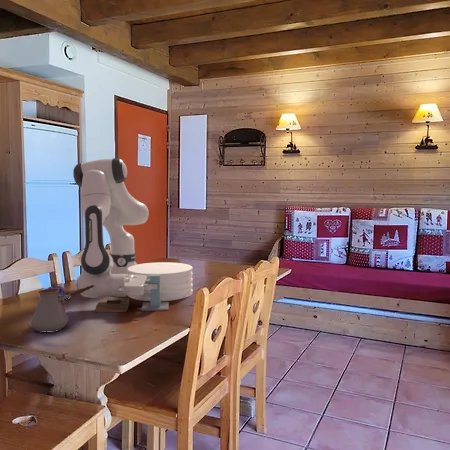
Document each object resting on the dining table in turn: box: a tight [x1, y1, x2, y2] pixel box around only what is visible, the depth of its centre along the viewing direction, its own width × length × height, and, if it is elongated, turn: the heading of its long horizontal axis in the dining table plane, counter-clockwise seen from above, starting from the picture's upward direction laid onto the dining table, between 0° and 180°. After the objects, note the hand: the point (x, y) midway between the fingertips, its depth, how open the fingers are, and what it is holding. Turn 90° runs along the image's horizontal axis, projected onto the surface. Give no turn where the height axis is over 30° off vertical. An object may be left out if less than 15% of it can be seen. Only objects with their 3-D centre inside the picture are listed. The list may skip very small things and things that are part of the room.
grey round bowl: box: [47, 285, 72, 301], centre depth 190 cm, size 12×12×5 cm
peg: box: [149, 274, 161, 307], centre depth 177 cm, size 4×4×12 cm
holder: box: [95, 297, 131, 313], centre depth 176 cm, size 11×11×2 cm
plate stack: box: [127, 261, 194, 302], centre depth 200 cm, size 28×28×12 cm
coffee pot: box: [30, 285, 97, 332], centre depth 149 cm, size 21×12×15 cm, turn 87°
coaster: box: [141, 301, 170, 312], centre depth 177 cm, size 10×10×1 cm
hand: (157, 284), depth 177 cm, fingers open, 4 cm apart
